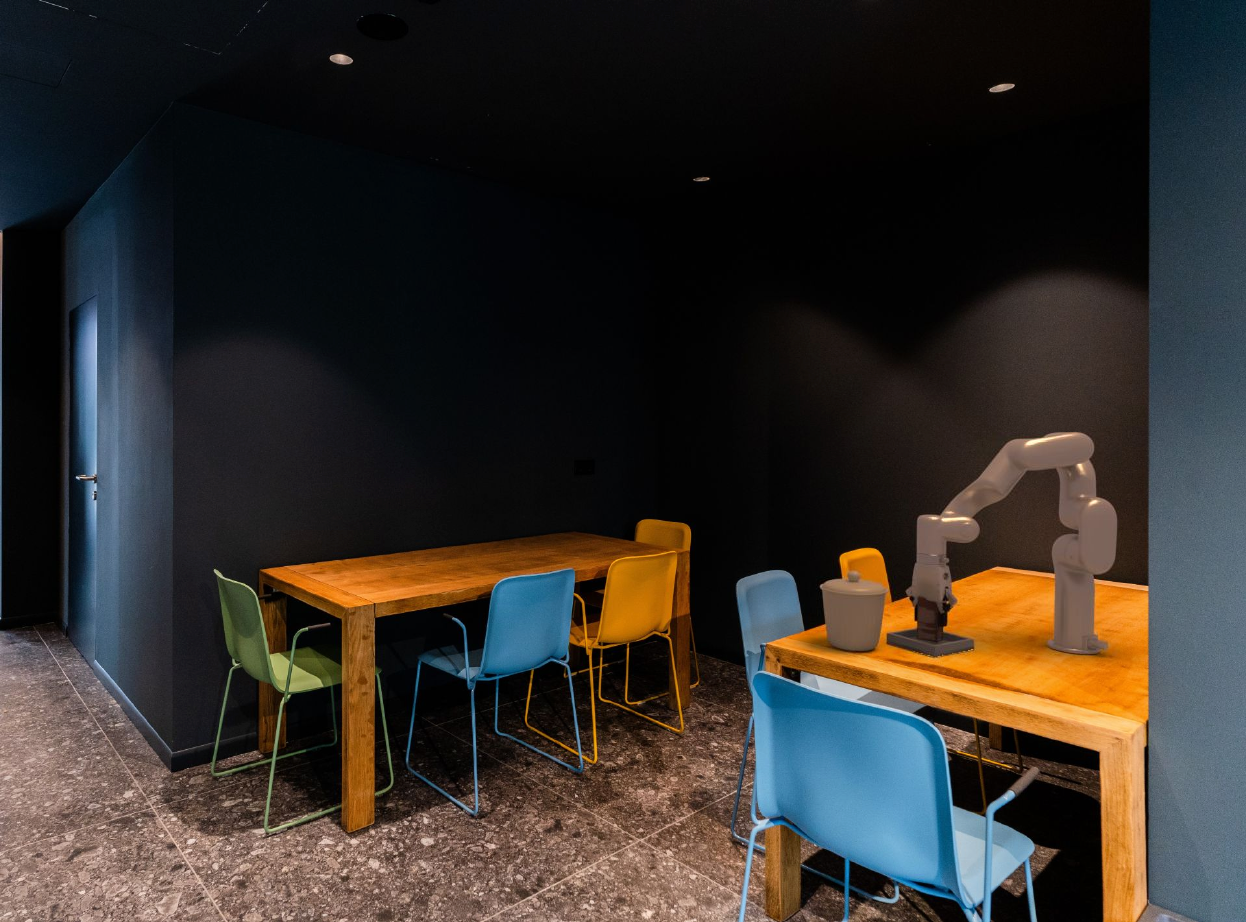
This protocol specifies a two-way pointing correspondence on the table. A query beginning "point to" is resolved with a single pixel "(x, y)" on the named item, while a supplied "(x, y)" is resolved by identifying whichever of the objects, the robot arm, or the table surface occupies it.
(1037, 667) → the table surface
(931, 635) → the box
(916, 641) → the tray
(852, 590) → the canister
